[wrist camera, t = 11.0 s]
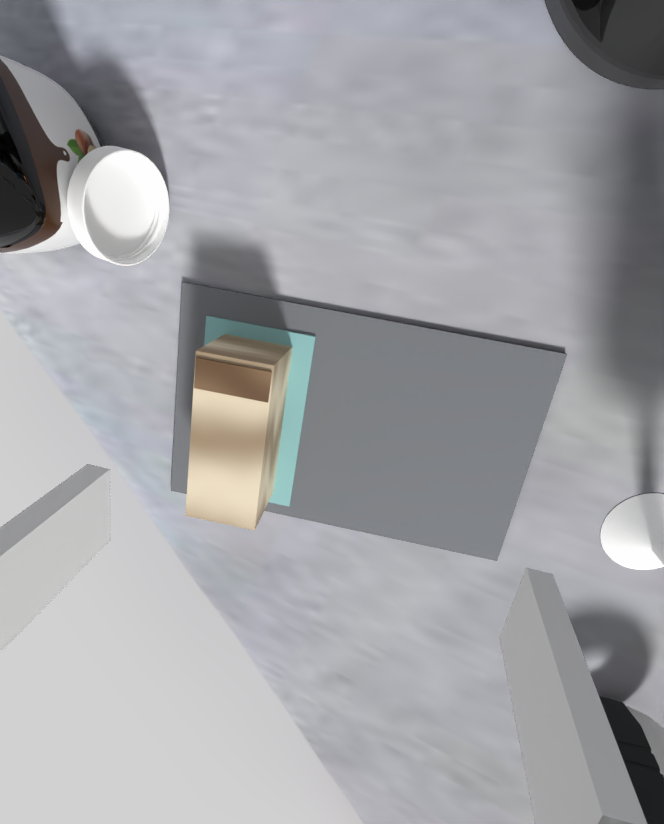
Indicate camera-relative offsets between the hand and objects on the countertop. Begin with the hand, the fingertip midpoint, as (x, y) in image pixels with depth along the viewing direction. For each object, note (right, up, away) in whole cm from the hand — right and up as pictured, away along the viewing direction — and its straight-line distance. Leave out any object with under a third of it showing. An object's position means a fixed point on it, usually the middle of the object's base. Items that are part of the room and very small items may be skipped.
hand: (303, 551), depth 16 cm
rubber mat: (+2, +3, +22) cm, 22 cm away
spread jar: (-16, +20, +19) cm, 32 cm away
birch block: (-5, +4, +22) cm, 23 cm away
